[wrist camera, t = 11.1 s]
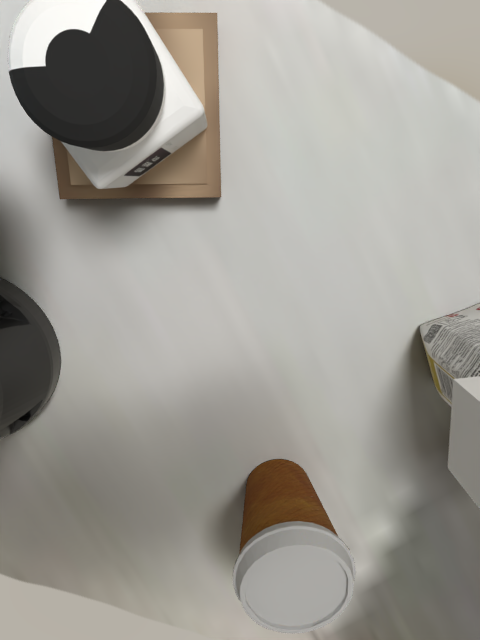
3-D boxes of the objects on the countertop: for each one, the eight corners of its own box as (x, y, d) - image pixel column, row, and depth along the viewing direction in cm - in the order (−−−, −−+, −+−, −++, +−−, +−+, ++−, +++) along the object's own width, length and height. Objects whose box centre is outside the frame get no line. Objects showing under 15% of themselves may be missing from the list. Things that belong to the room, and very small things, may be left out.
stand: (70, 197, 36) (58, 199, 33) (49, 24, 32) (35, 11, 30) (221, 195, 36) (221, 197, 34) (217, 25, 33) (217, 12, 30)
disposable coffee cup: (344, 477, 45) (386, 579, 33) (282, 539, 47) (303, 655, 35) (271, 426, 43) (289, 517, 31) (210, 494, 45) (207, 602, 33)
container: (209, 126, 32) (203, 93, 20) (124, 189, 33) (66, 195, 21) (143, 22, 30) (89, -88, 18) (54, 93, 31) (-56, 35, 19)
